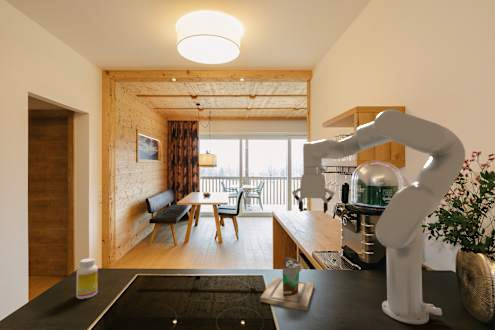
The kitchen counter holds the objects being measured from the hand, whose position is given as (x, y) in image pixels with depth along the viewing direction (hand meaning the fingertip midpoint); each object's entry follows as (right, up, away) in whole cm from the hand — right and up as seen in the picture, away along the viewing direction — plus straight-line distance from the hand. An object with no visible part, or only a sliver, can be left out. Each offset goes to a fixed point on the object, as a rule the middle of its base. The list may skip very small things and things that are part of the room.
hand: (313, 211), depth 106 cm
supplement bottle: (-87, -28, -13) cm, 92 cm away
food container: (-11, -27, -14) cm, 32 cm away
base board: (-12, -28, -13) cm, 33 cm away
